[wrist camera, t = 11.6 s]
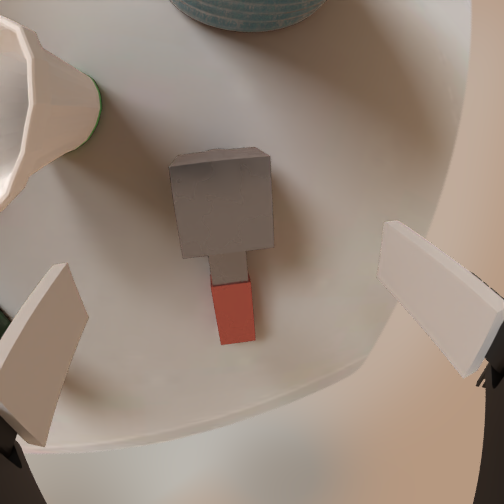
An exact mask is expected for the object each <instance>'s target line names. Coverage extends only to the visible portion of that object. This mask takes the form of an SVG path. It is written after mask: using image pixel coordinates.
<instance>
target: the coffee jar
mask: <svg viewBox="0 0 504 504" xmlns="http://www.w3.org/2000/svg"><path fill="white" fill-rule="evenodd" d="M10 324H11V323H10V321H9V320H8V319H7V318H6V316H5V315H4V314H3V313H2V312H1V311H0V338H1V337H2V336H3V335H4V333H5V331H6V330H7V328H8V327H9V325H10Z"/></svg>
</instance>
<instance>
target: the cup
mask: <svg viewBox="0 0 504 504" xmlns="http://www.w3.org/2000/svg"><path fill="white" fill-rule="evenodd" d="M101 110H102V104H101V96H100V91H99V89H98V87H97V85H96V83H95V81H94V80H93V79H92V78H91V77H89V76H88V75H86V74H84V73H82V72H80V71H79V70H77V69H76V68H74V67H73V66H71V65H69V64H68V63H66V62H65V61H63V60H61V59H60V58H58V57H57V56H55V55H53V54H52V53H50V52H48V51H47V50H45V49H43V48H42V46H41V44H40V41H39V39H38V37H37V34H36V32H34V31H32V30H30V29H28V28H27V27H25V26H23V25H21V24H19V23H17V22H15V21H13V20H11V19H8V18H6V17H4V16H1V15H0V212H2V211H3V210H4V209H5V208H6V207H7V206H8V204H9V203H10V202H11V201H12V200H13V199H14V198H15V197H16V196H17V195H18V194H19V193H20V192H21V191H22V190H23V189H24V188H25V186H26V183H27V181H28V179H29V176H31V175H32V174H34V173H35V172H37V171H38V170H40V169H41V168H43V167H44V166H46V165H47V164H49V163H51V162H52V161H54V160H55V159H57V158H59V157H60V156H62V155H64V154H65V153H67V152H70V151H72V150H75V149H77V148H78V147H80V146H81V145H82V144H84V143H85V142H86V141H87V140H89V138H90V136H91V135H92V133H93V132H94V130H95V128H96V126H97V124H98V121H99V118H100V114H101Z"/></svg>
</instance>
